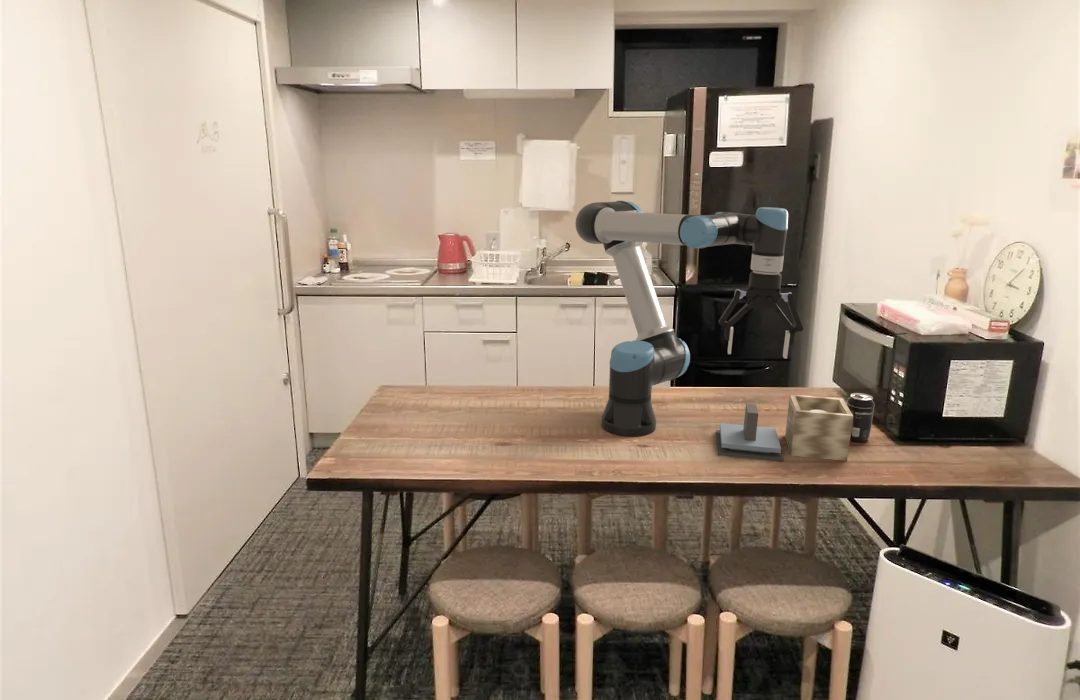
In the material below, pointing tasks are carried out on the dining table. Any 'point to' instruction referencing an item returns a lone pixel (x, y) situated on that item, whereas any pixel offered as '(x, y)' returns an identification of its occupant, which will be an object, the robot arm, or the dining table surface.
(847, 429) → the box
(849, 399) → the beverage can
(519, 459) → the dining table surface
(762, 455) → the mat
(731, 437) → the lid
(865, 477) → the dining table surface
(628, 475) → the dining table surface
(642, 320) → the robot arm
